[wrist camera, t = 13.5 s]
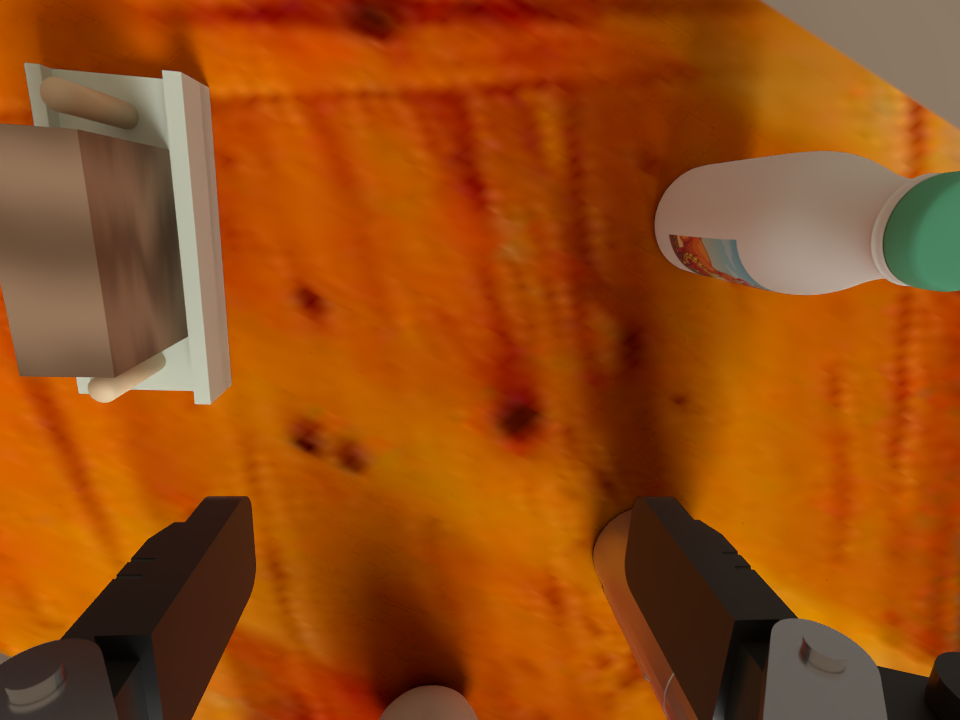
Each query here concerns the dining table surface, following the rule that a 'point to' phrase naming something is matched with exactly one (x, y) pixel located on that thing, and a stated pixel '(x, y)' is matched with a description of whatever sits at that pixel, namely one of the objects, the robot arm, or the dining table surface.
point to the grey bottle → (429, 705)
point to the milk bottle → (812, 224)
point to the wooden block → (87, 251)
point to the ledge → (188, 136)
